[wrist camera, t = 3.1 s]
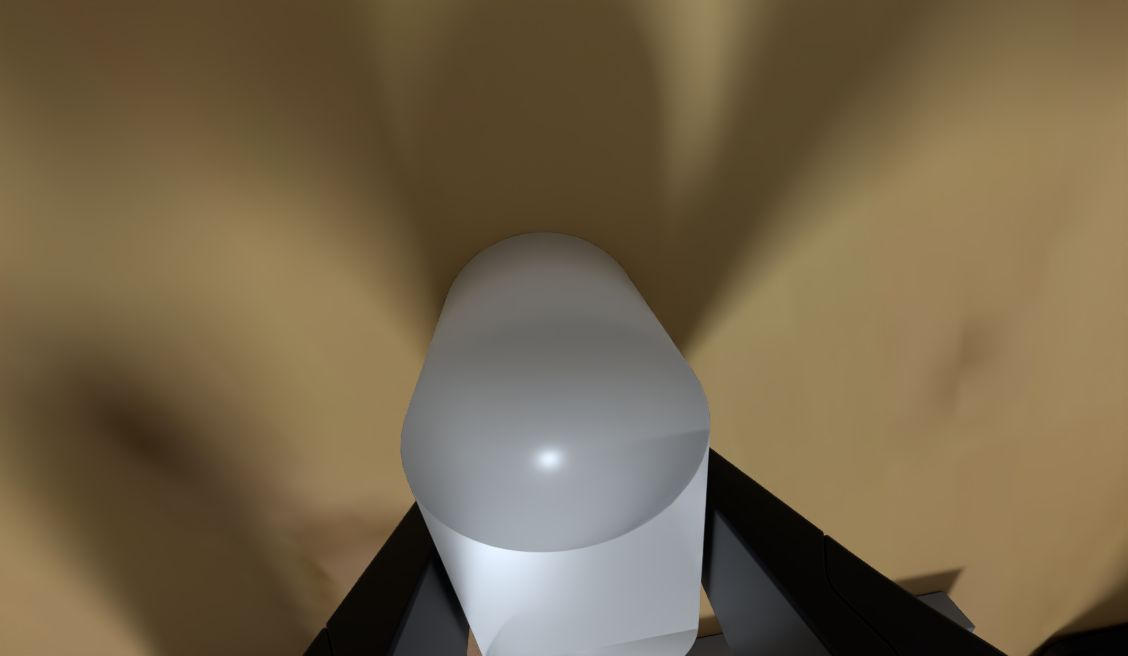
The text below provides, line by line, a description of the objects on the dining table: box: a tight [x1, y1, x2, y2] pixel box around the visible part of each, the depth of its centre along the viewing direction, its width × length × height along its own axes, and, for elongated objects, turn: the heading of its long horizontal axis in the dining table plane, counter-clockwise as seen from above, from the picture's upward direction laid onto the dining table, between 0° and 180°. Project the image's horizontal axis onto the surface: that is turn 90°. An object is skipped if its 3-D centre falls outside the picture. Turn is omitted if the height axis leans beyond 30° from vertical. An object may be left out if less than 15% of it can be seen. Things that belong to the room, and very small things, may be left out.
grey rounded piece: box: [401, 232, 710, 656], centre depth 9 cm, size 4×11×4 cm, turn 7°
